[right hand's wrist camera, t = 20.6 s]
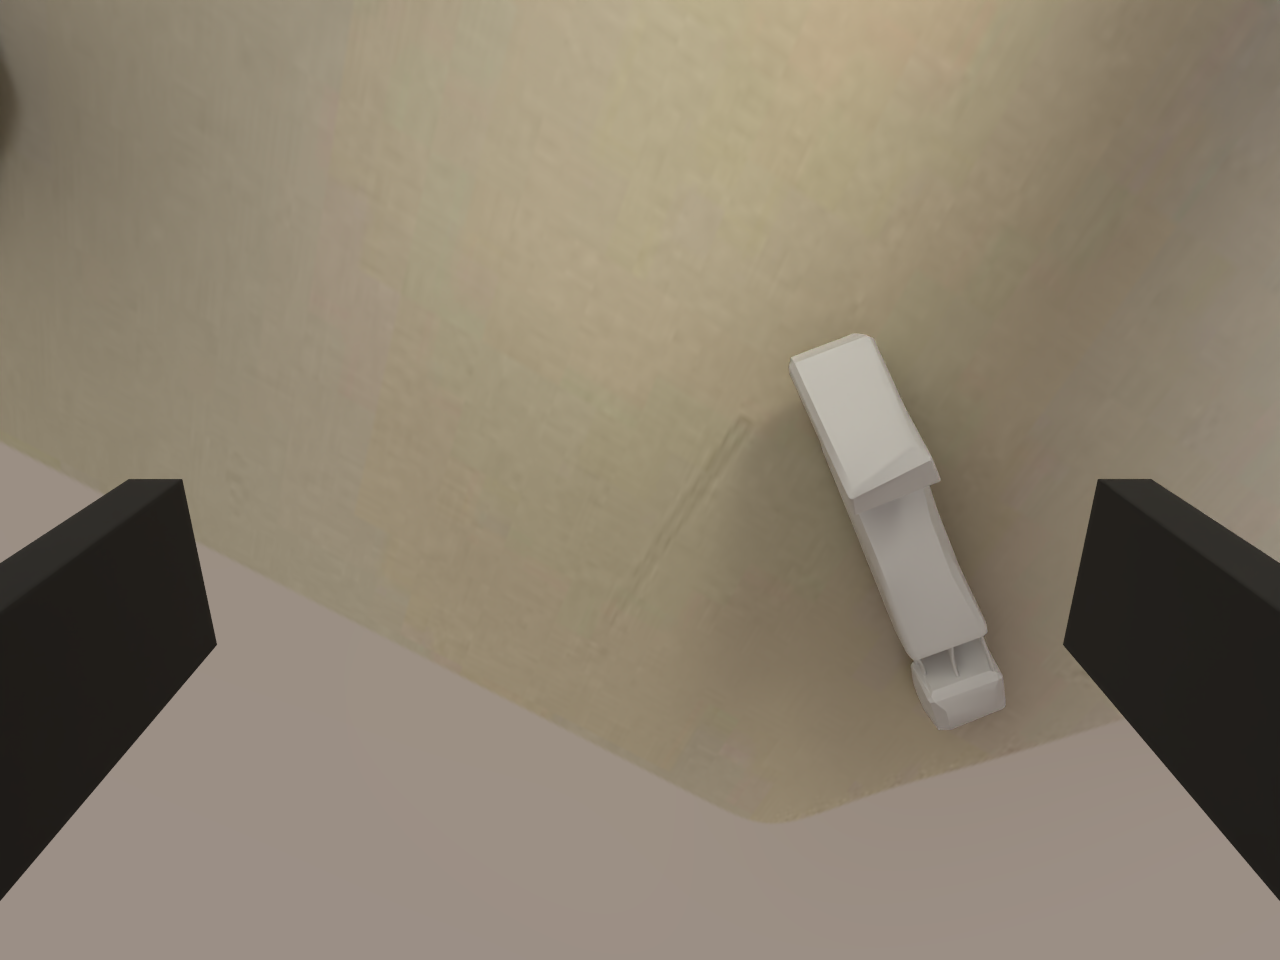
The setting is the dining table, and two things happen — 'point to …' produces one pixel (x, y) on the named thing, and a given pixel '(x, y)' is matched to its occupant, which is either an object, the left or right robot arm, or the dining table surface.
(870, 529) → the clamp
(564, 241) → the dining table surface
